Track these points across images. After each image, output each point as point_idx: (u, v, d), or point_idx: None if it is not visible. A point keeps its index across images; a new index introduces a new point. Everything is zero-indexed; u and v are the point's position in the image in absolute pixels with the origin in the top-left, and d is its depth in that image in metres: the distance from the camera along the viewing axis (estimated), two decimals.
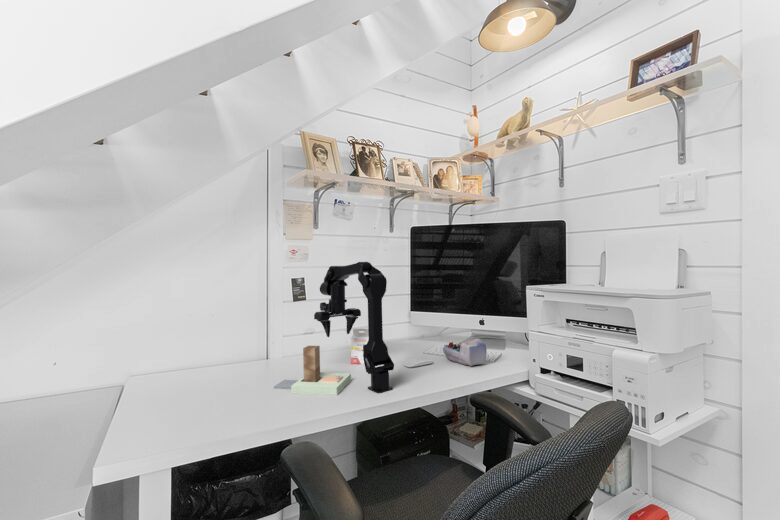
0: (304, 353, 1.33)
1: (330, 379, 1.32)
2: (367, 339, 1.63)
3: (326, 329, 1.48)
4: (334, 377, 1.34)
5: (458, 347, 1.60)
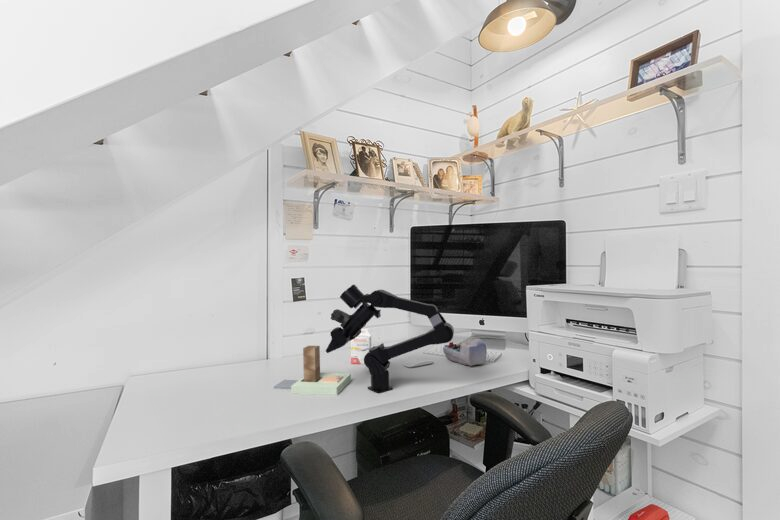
0: (304, 353, 1.33)
1: (330, 379, 1.32)
2: (367, 339, 1.63)
3: (333, 347, 1.28)
4: (334, 377, 1.34)
5: (458, 347, 1.60)
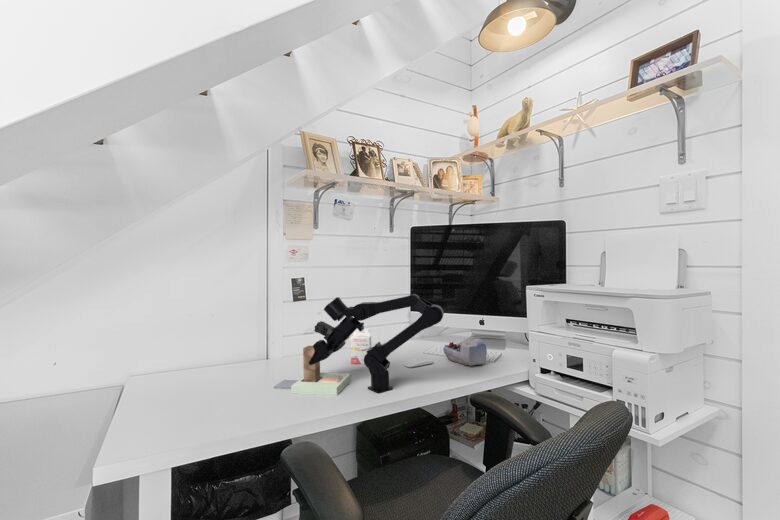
0: (304, 353, 1.33)
1: (330, 379, 1.32)
2: (367, 339, 1.63)
3: (315, 360, 1.29)
4: (334, 377, 1.34)
5: (458, 347, 1.60)
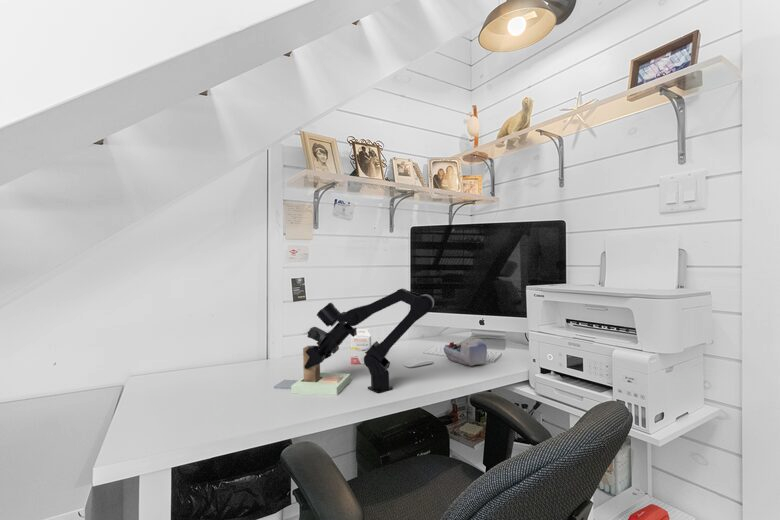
0: (304, 353, 1.33)
1: (330, 379, 1.32)
2: (367, 339, 1.63)
3: (311, 364, 1.31)
4: (334, 377, 1.34)
5: (458, 347, 1.60)
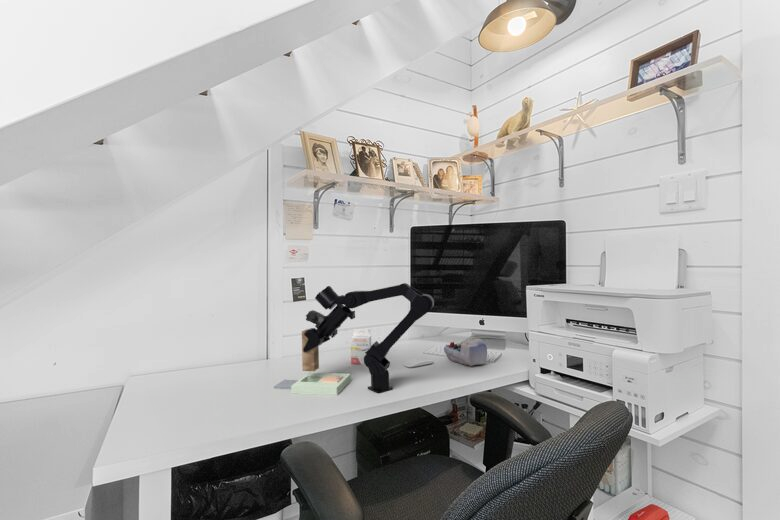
0: (303, 336, 1.33)
1: (330, 379, 1.32)
2: (367, 339, 1.63)
3: (310, 346, 1.32)
4: (334, 377, 1.34)
5: (459, 347, 1.60)
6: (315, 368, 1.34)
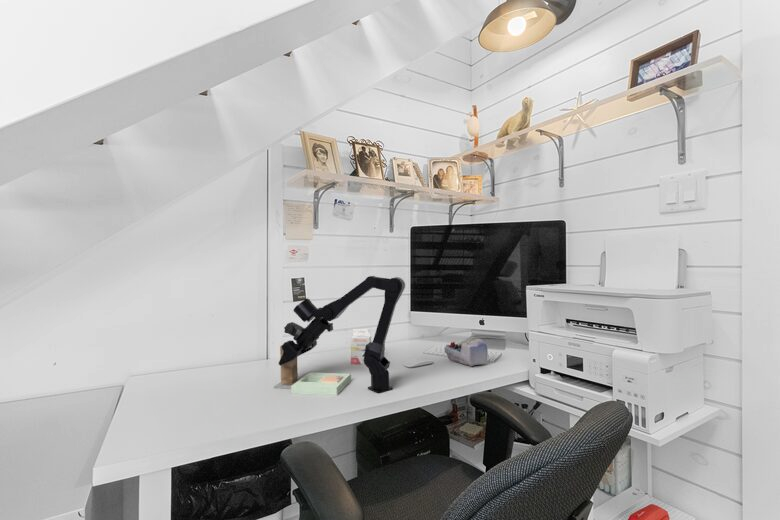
0: (281, 351, 1.35)
1: (330, 379, 1.32)
2: (367, 339, 1.63)
3: (285, 360, 1.31)
4: (334, 377, 1.34)
5: (459, 347, 1.60)
6: (293, 382, 1.35)
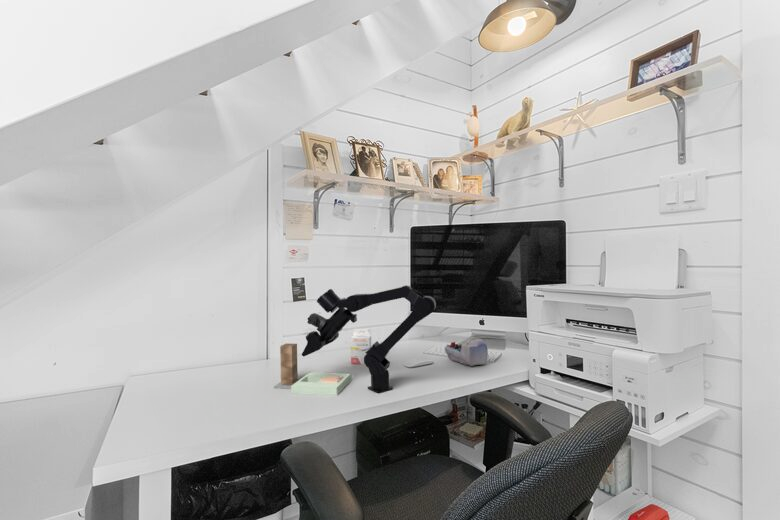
0: (281, 351, 1.35)
1: (330, 379, 1.32)
2: (367, 339, 1.63)
3: (308, 351, 1.29)
4: (334, 377, 1.34)
5: (459, 347, 1.60)
6: (293, 382, 1.35)
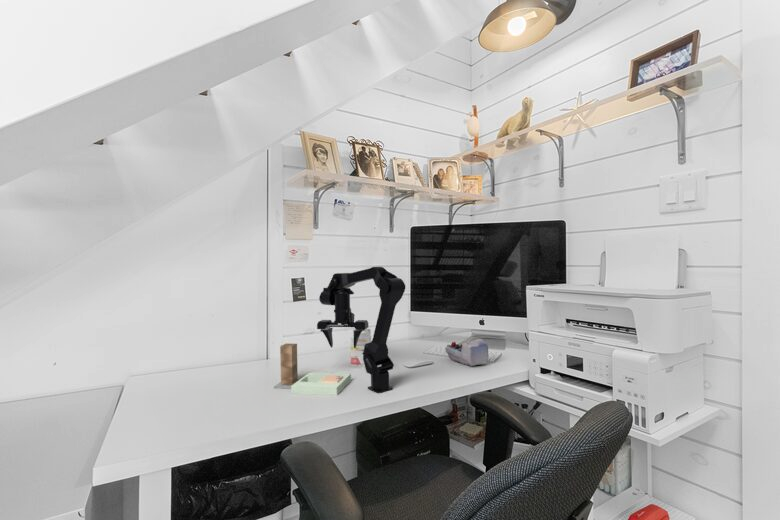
0: (281, 351, 1.35)
1: (330, 379, 1.32)
2: (367, 339, 1.63)
3: None
4: (334, 377, 1.34)
5: (460, 347, 1.60)
6: (293, 382, 1.35)
